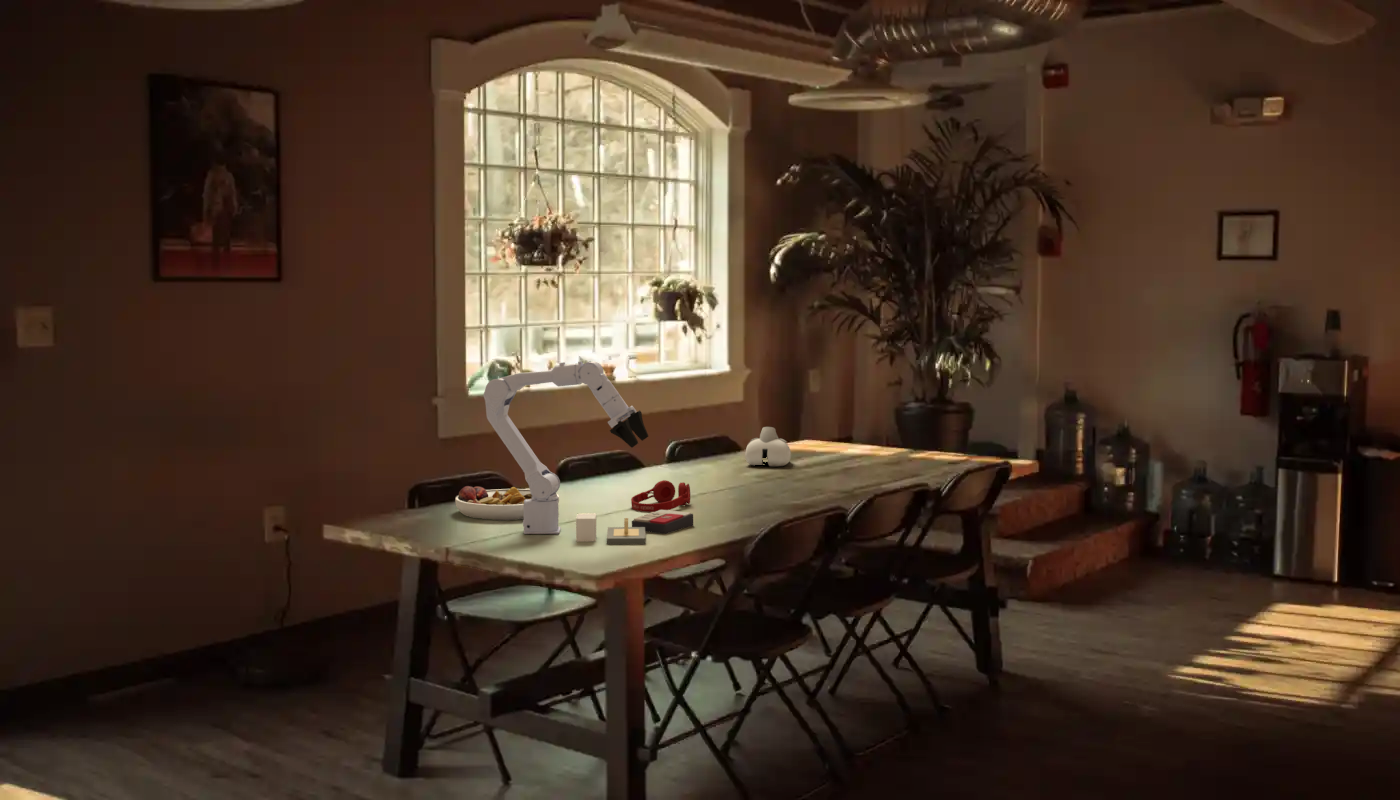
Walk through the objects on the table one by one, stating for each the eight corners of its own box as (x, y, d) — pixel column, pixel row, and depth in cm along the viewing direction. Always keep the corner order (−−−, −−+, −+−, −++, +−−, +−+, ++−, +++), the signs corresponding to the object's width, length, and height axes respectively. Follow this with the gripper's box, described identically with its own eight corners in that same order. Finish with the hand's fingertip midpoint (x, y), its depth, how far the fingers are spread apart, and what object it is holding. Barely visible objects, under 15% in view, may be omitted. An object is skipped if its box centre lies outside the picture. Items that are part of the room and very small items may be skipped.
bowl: (566, 505, 413) (566, 480, 412) (549, 523, 383) (549, 495, 382) (469, 504, 415) (468, 478, 414) (444, 521, 385) (443, 494, 384)
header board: (606, 544, 352) (606, 525, 351) (607, 532, 367) (607, 514, 367) (645, 544, 352) (645, 524, 352) (645, 532, 368) (645, 514, 367)
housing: (576, 541, 355) (576, 518, 355) (577, 535, 363) (577, 513, 363) (595, 541, 355) (595, 518, 355) (596, 535, 363) (596, 513, 363)
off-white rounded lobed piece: (813, 465, 502) (813, 426, 500) (763, 470, 489) (763, 430, 487) (776, 459, 520) (777, 421, 518) (727, 463, 507) (728, 424, 506)
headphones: (662, 498, 423) (622, 516, 407) (660, 476, 421) (620, 494, 405) (701, 503, 414) (662, 522, 398) (699, 480, 413) (660, 498, 397)
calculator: (630, 518, 371) (660, 507, 384) (631, 533, 372) (660, 522, 385) (664, 522, 366) (693, 511, 378) (665, 537, 366) (694, 526, 379)
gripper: (611, 398, 355) (641, 440, 355) (631, 386, 368) (660, 427, 368) (591, 412, 357) (621, 454, 357) (612, 400, 371) (641, 441, 371)
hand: (640, 442), depth 363 cm, fingers open, 7 cm apart
